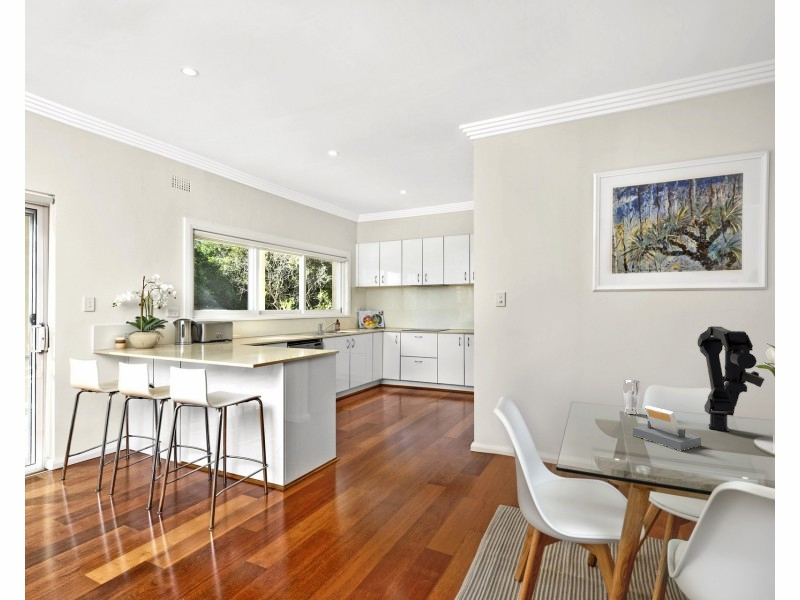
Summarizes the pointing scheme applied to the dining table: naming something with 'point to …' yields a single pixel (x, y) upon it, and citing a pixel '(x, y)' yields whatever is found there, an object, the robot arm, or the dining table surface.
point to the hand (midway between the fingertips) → (734, 405)
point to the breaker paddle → (662, 419)
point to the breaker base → (668, 437)
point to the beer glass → (631, 395)
